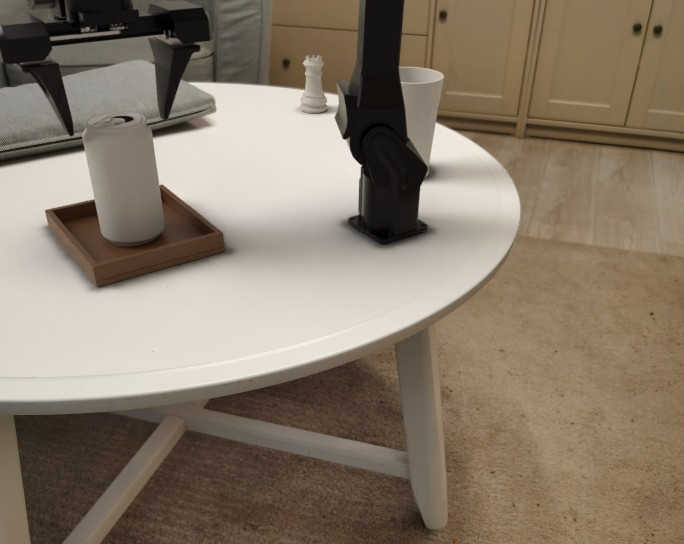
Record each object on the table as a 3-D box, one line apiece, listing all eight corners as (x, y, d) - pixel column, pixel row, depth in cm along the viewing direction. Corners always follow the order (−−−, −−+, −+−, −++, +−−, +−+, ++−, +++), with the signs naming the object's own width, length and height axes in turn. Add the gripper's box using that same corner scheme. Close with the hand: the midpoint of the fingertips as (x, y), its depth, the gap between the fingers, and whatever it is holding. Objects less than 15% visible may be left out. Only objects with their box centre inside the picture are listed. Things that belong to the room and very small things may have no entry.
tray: (225, 251, 72) (223, 232, 71) (96, 287, 66) (92, 267, 64) (164, 201, 82) (162, 184, 81) (48, 228, 76) (44, 209, 75)
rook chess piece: (297, 112, 111) (295, 59, 107) (303, 104, 115) (302, 52, 111) (325, 114, 111) (325, 60, 106) (330, 106, 115) (330, 54, 110)
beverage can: (178, 231, 74) (164, 116, 67) (133, 255, 70) (112, 134, 63) (135, 217, 77) (117, 105, 70) (88, 238, 72) (64, 121, 66)
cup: (431, 185, 87) (441, 85, 80) (368, 180, 88) (371, 80, 82) (437, 163, 94) (446, 69, 87) (378, 158, 95) (382, 64, 88)
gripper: (156, -72, 69) (175, 93, 77) (-53, -65, 60) (-5, 120, 69) (207, -62, 61) (221, 119, 70) (-23, -53, 52) (26, 154, 61)
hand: (118, 126), depth 68 cm, fingers open, 9 cm apart
